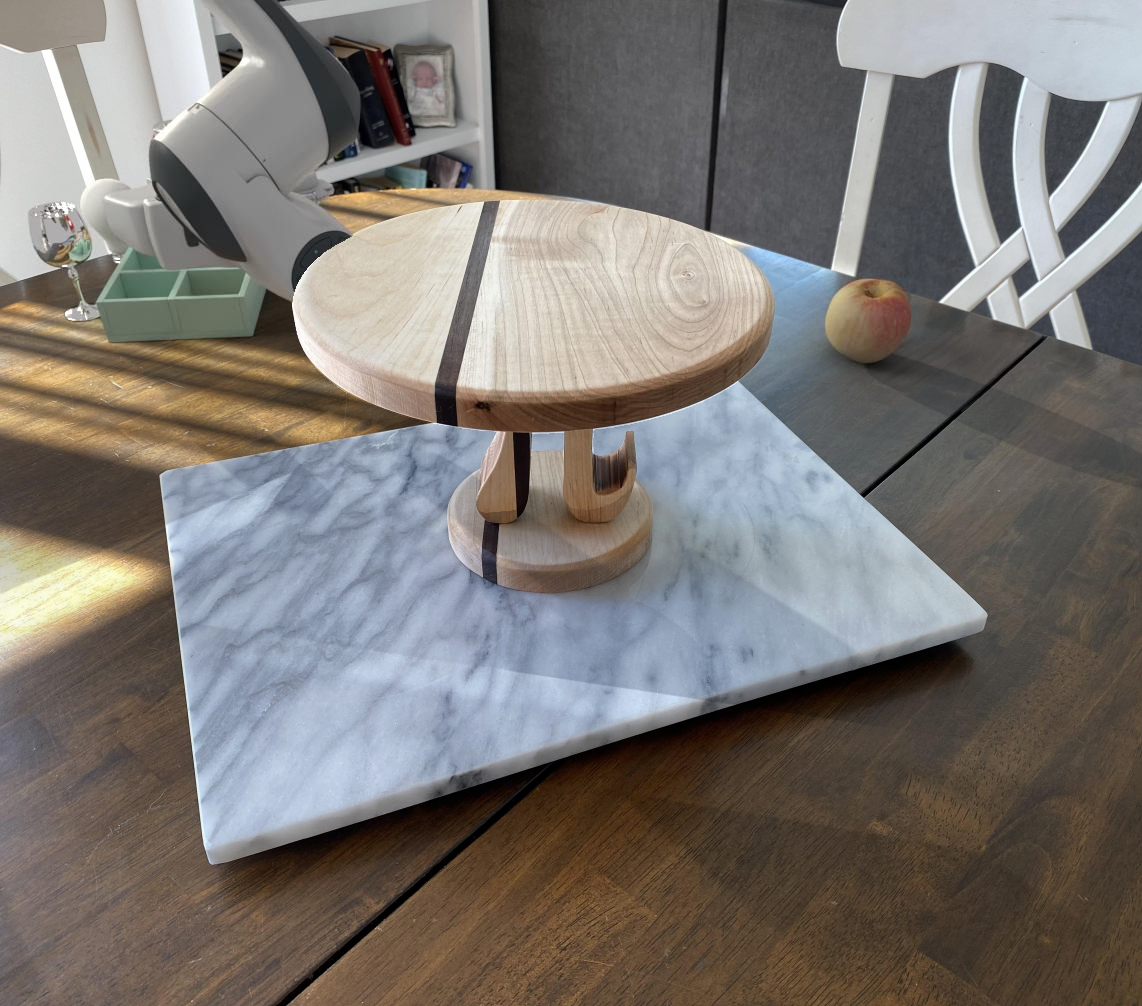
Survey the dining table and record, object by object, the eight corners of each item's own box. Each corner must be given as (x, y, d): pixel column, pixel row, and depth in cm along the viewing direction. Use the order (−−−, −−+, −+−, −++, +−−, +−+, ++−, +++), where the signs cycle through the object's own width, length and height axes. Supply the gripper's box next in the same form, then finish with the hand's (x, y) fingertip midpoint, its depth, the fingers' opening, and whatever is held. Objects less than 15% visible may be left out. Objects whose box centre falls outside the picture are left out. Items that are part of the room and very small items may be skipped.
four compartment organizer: (108, 342, 102) (95, 302, 99) (140, 282, 114) (129, 244, 111) (252, 336, 103) (244, 296, 101) (269, 277, 115) (262, 240, 112)
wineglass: (49, 312, 107) (12, 209, 100) (98, 296, 110) (66, 196, 103) (72, 328, 104) (36, 224, 97) (121, 312, 107) (90, 210, 100)
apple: (896, 339, 106) (913, 273, 101) (903, 378, 99) (923, 309, 94) (817, 331, 107) (831, 265, 102) (820, 370, 100) (834, 301, 95)
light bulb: (122, 284, 113) (96, 194, 106) (88, 270, 116) (60, 182, 109) (168, 265, 118) (145, 178, 111) (134, 252, 120) (110, 166, 114)
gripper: (337, 160, 92) (272, 127, 100) (130, 208, 81) (75, 166, 89) (346, 222, 96) (282, 186, 104) (149, 276, 85) (95, 230, 93)
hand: (185, 177), depth 97 cm, fingers closed on soda can, 5 cm apart
